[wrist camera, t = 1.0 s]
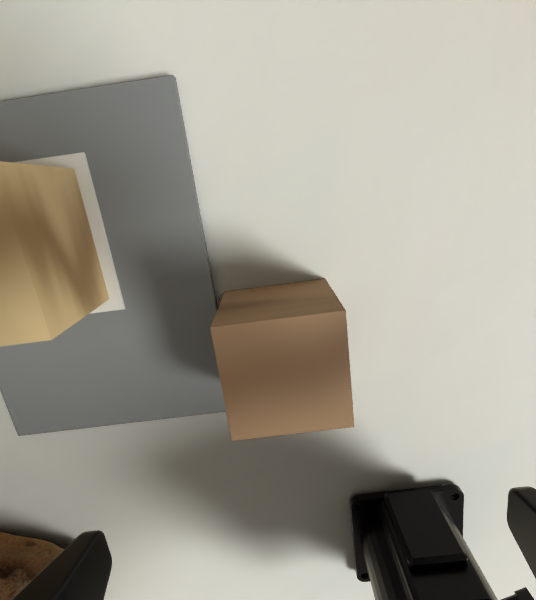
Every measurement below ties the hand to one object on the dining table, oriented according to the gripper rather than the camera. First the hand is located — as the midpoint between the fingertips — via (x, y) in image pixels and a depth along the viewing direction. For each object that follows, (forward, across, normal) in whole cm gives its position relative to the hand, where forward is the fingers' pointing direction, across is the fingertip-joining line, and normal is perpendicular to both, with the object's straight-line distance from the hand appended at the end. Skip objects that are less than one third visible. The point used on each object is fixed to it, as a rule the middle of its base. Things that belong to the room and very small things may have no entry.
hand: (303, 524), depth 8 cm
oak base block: (+11, +11, -6) cm, 17 cm away
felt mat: (+11, +9, -4) cm, 15 cm away
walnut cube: (+11, 0, 0) cm, 11 cm away
